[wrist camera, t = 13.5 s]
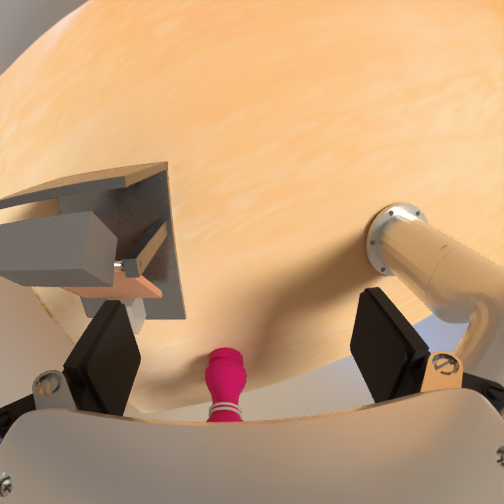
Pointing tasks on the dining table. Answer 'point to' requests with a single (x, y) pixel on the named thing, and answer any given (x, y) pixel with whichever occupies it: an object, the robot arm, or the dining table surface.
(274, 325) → the dining table surface
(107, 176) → the frame
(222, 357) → the pepper mill
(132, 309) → the light grey cube
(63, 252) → the trapdoor
